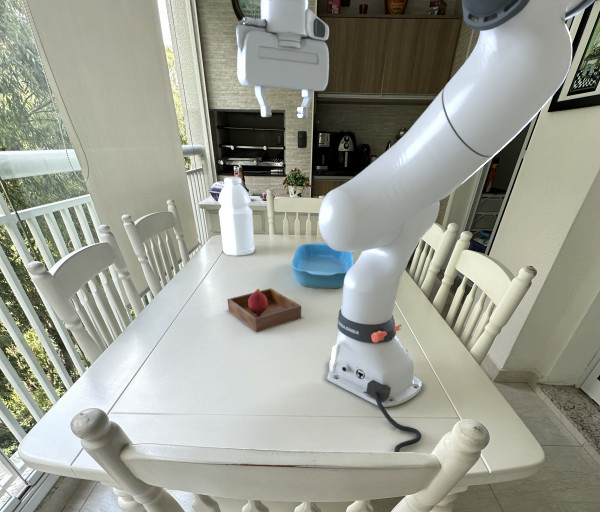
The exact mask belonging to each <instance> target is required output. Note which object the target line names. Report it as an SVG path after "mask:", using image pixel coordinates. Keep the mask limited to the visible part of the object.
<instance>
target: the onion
mask: <svg viewBox="0 0 600 512" xmlns="http://www.w3.org/2000/svg"><path fill="white" fill-rule="evenodd" d="M260 291H261V290H260V288H255V291H254V292H252V293H253V294H251V296H250V297H249V300H248V306H249V309H250V310H251V311H252V312H253V313H255V314H257V315H260V314H262V313H263V312H264V311H265V310H266V309H267V307H268V301H267V298H266V296H265V295H264V294H263V293H261V292H260Z"/></svg>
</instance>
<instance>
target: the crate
mask: <svg viewBox="0 0 600 512" xmlns="http://www.w3.org/2000/svg"><path fill="white" fill-rule="evenodd" d="M260 292H261V293H263V294H264V295H265V296H266V298H267V301H268V307H267V309H266V310H265V311H264V312H263V313H262V314H260V315H257V314H255V313H253V312H252V311H251V310H250V309H249V306H248V300H249V297H250V296H251V294H253V293H254V292H250V293H246V294H241V295H238V296H234V297H230V298H227V299H226V300H227V308H228V309H227V310H228V312H229V313H230V314H232V316H234V317H236V318H237V319H238V320H240V321H241V322H242V323H243V324H245V325H246V326H248V327H249V328H250V329H251V330H253V331H254V332H255V333H258V332H262V331H264V330H268V329H270V328H274V327H277V326H281V325H284V324H286V323H289V322H293V321H296V320H299V319H301V318H302V305H301V304H299V303H297V302H296V301H294V300H292V299H291V298H289V297H287V296H285V295H283V294H282V293H280V292H278V291H276V290H275V289H273V288H271V287H269V288H266V289H262V290H260Z"/></svg>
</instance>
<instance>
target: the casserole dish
mask: <svg viewBox="0 0 600 512" xmlns="http://www.w3.org/2000/svg"><path fill="white" fill-rule="evenodd" d="M354 259H355V258H354V252H343V251H335V250H333V249H331V248H330V247H329V246H328V245H327V244H326V242H313V243H303V244H300V245H299V246H297V248H296V249H295V251H294V255H293V257H292V261H291V268H292V271H293V274H294V278H295V280H296V282H297V283H298V284H299V285H301V287H305V288H306V287H307V288H316V289H317V288H318V289H340V288H343V286H344V278H345V275H346V273H347V272H348V270H349V269H350V268H351V267H352V266H353V265H354V263H355V260H354Z"/></svg>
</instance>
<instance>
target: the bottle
mask: <svg viewBox="0 0 600 512" xmlns="http://www.w3.org/2000/svg"><path fill="white" fill-rule="evenodd" d="M223 180H224V181H223V182H224V184H225V185H224V186H223V187H222V189H221V190H220V192H219V196H218V199H217V201H218V203H219V204H220V206H221V207H220V208H219V210H218V215H219V223H220V224H219V225H220V233H221V243H222V250H223V253H224V254H226V255H228V256H237V257H238V256H239V257H240V256H247V255H251V254H254V252H255V248H256V246H255V234H254V233H255V231H254V216H253V214H254V212H253V209H252V208H251V207H250V204H251V202H252V199H251V197H250V194H249V192H248V191H247V189H246V188H245V187H244V186H243V185H242V183H243V180H242V177H240V176H226V177H224V179H223Z"/></svg>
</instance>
